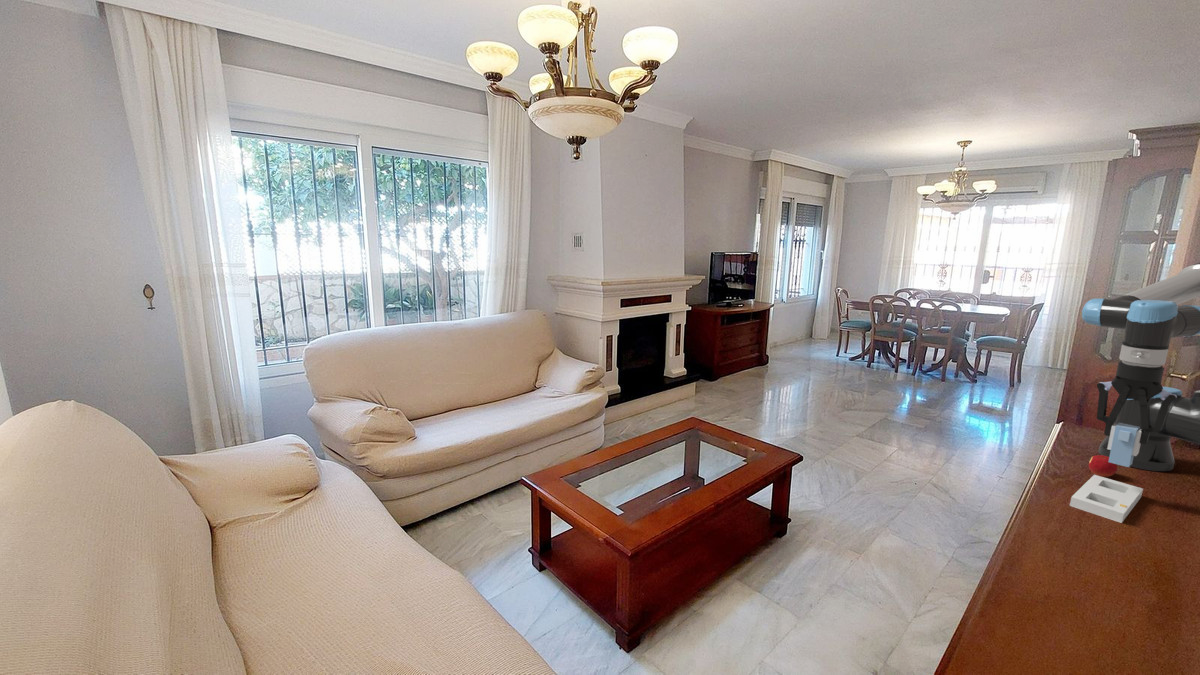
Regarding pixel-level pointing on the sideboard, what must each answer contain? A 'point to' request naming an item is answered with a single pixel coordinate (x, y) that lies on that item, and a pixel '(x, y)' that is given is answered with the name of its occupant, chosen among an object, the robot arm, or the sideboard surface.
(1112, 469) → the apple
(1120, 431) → the plug
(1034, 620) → the sideboard surface
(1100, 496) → the panel
